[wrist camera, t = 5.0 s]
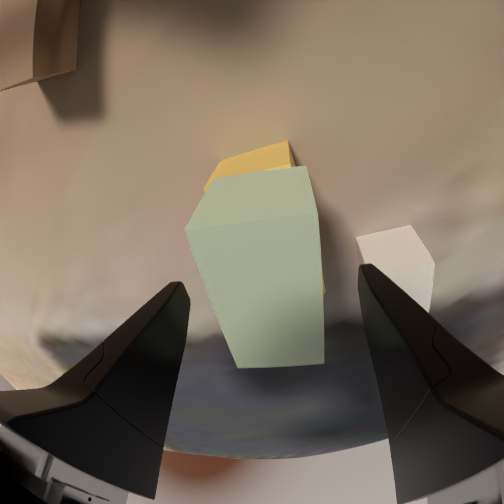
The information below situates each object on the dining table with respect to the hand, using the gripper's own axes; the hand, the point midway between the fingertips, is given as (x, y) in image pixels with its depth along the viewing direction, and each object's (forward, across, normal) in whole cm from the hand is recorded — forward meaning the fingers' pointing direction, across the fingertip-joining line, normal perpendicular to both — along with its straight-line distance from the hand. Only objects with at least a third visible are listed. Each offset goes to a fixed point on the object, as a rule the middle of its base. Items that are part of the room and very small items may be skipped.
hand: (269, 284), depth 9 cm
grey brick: (+6, -6, +5) cm, 10 cm away
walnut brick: (+6, +9, -13) cm, 17 cm away
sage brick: (+2, 0, 0) cm, 2 cm away
